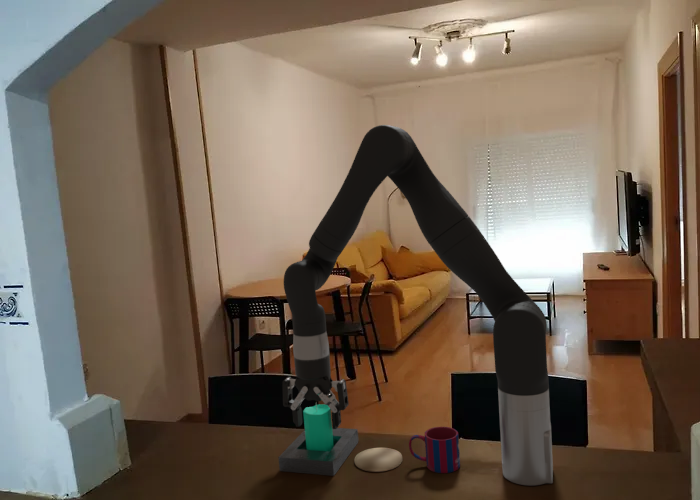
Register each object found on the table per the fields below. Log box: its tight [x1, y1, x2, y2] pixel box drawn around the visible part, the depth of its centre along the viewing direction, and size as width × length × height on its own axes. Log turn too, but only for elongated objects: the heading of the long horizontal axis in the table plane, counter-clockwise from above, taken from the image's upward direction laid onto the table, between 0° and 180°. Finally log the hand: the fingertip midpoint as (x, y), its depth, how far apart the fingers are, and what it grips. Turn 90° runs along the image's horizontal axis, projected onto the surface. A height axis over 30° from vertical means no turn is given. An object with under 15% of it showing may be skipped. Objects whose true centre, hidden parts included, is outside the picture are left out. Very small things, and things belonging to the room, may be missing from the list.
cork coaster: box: [354, 447, 403, 473], centre depth 126 cm, size 10×10×1 cm
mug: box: [408, 426, 461, 474], centre depth 122 cm, size 7×10×7 cm
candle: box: [302, 402, 334, 452], centre depth 130 cm, size 6×6×12 cm
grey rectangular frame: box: [278, 427, 359, 477], centre depth 131 cm, size 12×16×3 cm
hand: (317, 426), depth 130 cm, fingers open, 8 cm apart
